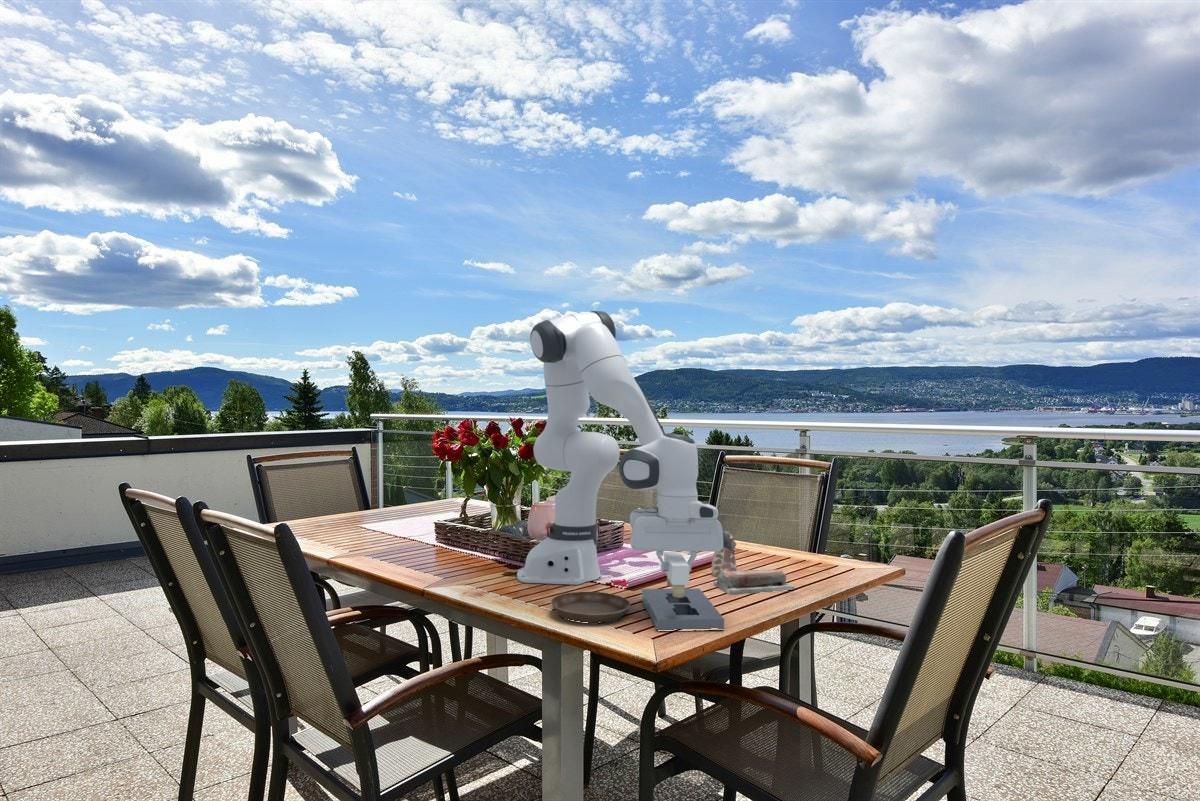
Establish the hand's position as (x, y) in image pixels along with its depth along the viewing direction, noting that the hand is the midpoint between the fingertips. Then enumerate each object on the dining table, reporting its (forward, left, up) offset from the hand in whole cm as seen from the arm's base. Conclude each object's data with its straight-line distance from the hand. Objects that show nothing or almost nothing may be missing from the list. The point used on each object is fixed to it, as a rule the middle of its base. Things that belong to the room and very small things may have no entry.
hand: (676, 571), depth 161 cm
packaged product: (+25, +25, -11) cm, 37 cm away
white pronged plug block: (0, 0, -4) cm, 4 cm away
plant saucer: (-18, +4, -11) cm, 22 cm away
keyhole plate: (+2, +3, -10) cm, 11 cm away
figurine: (+21, +38, -11) cm, 45 cm away
